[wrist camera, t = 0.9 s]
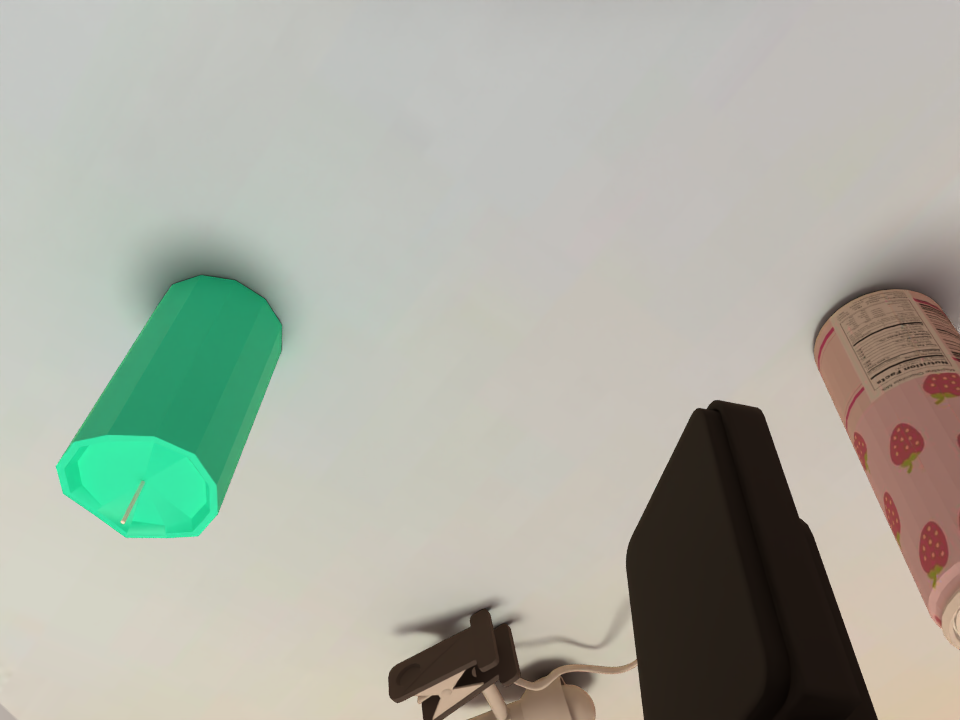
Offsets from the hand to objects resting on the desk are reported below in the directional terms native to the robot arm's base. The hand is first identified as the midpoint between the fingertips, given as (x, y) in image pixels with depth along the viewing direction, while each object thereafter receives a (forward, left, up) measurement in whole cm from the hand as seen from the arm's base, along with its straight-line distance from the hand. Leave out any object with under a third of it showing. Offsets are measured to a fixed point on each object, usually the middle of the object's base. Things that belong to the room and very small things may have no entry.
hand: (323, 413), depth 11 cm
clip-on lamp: (+40, -12, -24) cm, 48 cm away
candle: (+10, -17, -24) cm, 31 cm away
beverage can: (+22, +11, -24) cm, 34 cm away
